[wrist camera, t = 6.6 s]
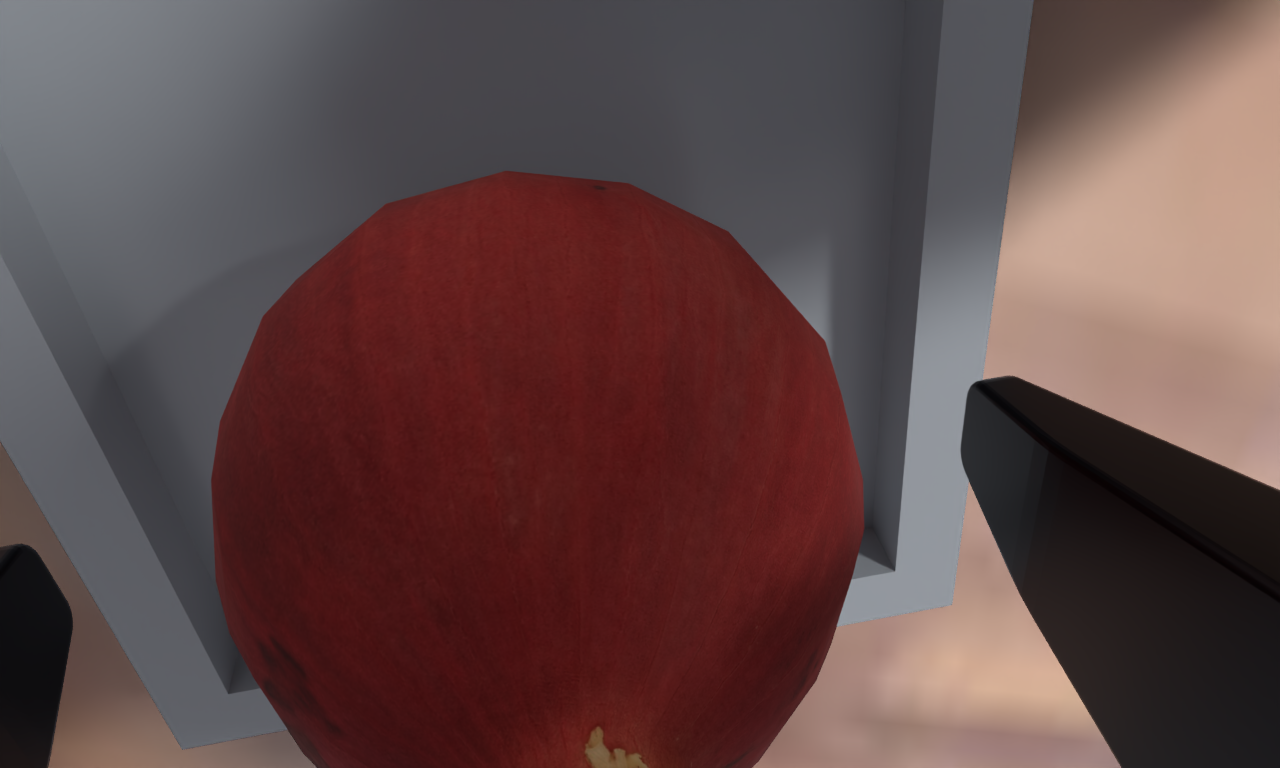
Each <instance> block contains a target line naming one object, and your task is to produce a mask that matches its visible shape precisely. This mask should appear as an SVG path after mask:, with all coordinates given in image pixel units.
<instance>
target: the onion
mask: <svg viewBox="0 0 1280 768" xmlns="http://www.w3.org/2000/svg"><path fill="white" fill-rule="evenodd" d="M211 491H212V512H213V533H214V554H215V576H216V584H217V587H218V591H219V595H220V599H221V603H222V607H223V610H224V614H225V618H226V622H227V626H228V630H229V634H230V635H231V637H232V639H233V641H234V643H235V645H236V646H237V648H238V650H239V652H240V654H241V656H242V657H243V659H244V661H245V663H246V665H247V667H248V669H249V670H250V672H251V674H252V676H253V678H254V679H255V681H256V682H257V684H258V685H259V687H260V689H261V690H262V692H263V693H264V695H265V696H266V698H267V699H268V701H269V702H270V704H271V705H272V707H273V708H274V710H275V711H276V713H277V714H278V716H279V717H280V719H281V720H282V722H283V723H284V725H285V726H286V728H287V729H288V731H289V732H290V734H291V735H292V737H293V738H294V740H295V741H296V743H297V744H298V746H299V747H300V749H301V751H302V752H303V754H304V755H305V756H306V757H307V758H308V759H309V760H310V761H311V762H312V763H313V764H314V765H315V766H316V767H317V768H752V767H753V766H754V765H755V764H756V763H757V762H758V761H759V760H760V758H761V757H762V756H763V754H764V753H765V751H766V750H767V749H768V747H769V746H770V744H771V743H772V742H773V740H774V739H775V737H776V736H777V735H778V733H779V732H780V730H781V729H782V728H783V726H784V725H785V723H786V722H787V721H788V719H789V718H790V716H791V715H792V714H793V712H794V711H795V709H796V708H797V707H798V705H799V704H800V702H801V701H802V700H803V698H804V697H805V695H806V694H807V693H808V691H809V690H810V688H811V687H812V686H813V684H814V683H815V681H816V680H817V677H818V675H819V672H820V670H821V667H822V665H823V663H824V660H825V658H826V655H827V653H828V650H829V648H830V646H831V643H832V639H833V636H834V633H835V630H836V627H837V624H838V621H839V617H840V614H841V611H842V608H843V605H844V602H845V598H846V595H847V592H848V589H849V586H850V583H851V580H852V576H853V573H854V569H855V565H856V561H857V557H858V553H859V549H860V545H861V541H862V537H863V533H864V499H863V478H862V474H861V470H860V466H859V462H858V458H857V454H856V450H855V446H854V442H853V438H852V434H851V430H850V426H849V422H848V418H847V414H846V410H845V406H844V402H843V398H842V394H841V391H840V388H839V384H838V381H837V378H836V374H835V371H834V368H833V365H832V361H831V358H830V355H829V352H828V348H827V345H826V342H825V340H824V339H823V338H822V337H821V336H820V335H819V334H818V332H817V331H816V330H815V329H814V328H813V327H812V326H811V324H810V323H809V322H808V321H807V320H806V319H805V318H804V316H803V315H802V314H801V313H800V312H799V311H798V310H797V308H796V307H795V306H794V305H793V304H792V303H791V302H790V300H789V299H788V298H787V297H786V296H785V295H784V294H783V292H782V291H781V290H780V289H779V288H778V287H777V286H776V284H775V283H774V282H773V281H772V280H771V279H770V278H769V277H768V275H767V274H766V273H765V272H764V271H763V270H762V269H761V267H760V266H759V265H758V264H757V263H756V262H755V261H754V259H753V258H752V257H751V256H750V255H749V254H748V253H747V252H746V250H745V249H744V248H743V247H742V246H741V245H740V244H739V243H738V242H737V240H736V239H735V238H734V237H733V236H732V235H731V234H730V233H729V231H727V230H725V229H722V228H720V227H718V226H716V225H714V224H712V223H710V222H708V221H706V220H704V219H702V218H700V217H698V216H696V215H693V214H691V213H689V212H687V211H685V210H683V209H681V208H679V207H677V206H675V205H673V204H671V203H669V202H667V201H665V200H662V199H660V198H658V197H656V196H654V195H652V194H650V193H648V192H646V191H644V190H642V189H640V188H638V187H636V186H634V185H631V184H629V183H623V182H613V181H603V180H593V179H583V178H573V177H563V176H554V175H544V174H534V173H524V172H514V171H503V172H500V173H496V174H492V175H489V176H485V177H481V178H478V179H474V180H470V181H467V182H463V183H459V184H456V185H452V186H448V187H445V188H441V189H438V190H434V191H430V192H427V193H423V194H419V195H416V196H412V197H408V198H405V199H401V200H397V201H394V202H390V203H386V204H385V205H384V206H383V207H381V208H380V209H379V210H378V211H377V212H375V213H374V214H373V215H372V216H371V217H370V218H368V219H367V220H366V221H365V222H364V223H362V224H361V225H360V226H359V227H358V228H357V229H355V230H354V231H353V232H352V233H351V234H349V235H348V236H347V237H346V238H345V239H344V240H342V241H341V242H340V243H339V244H338V245H336V246H335V247H334V248H333V249H332V250H331V251H329V252H328V253H327V254H326V255H325V256H323V257H322V258H321V259H320V260H319V261H318V262H316V263H315V264H314V265H313V266H312V267H310V268H309V269H308V270H307V271H306V272H305V273H303V274H302V275H301V276H300V277H299V278H297V279H296V280H295V282H294V283H293V284H292V285H291V286H290V287H289V288H288V289H287V290H286V291H285V293H284V294H283V295H282V296H281V297H280V298H279V299H278V300H277V301H276V302H275V303H274V305H273V306H272V307H271V308H270V309H269V310H268V311H267V312H266V313H265V314H264V316H263V317H262V319H261V322H260V324H259V327H258V329H257V332H256V334H255V337H254V339H253V342H252V344H251V346H250V349H249V351H248V354H247V356H246V359H245V361H244V364H243V366H242V368H241V371H240V373H239V376H238V378H237V381H236V383H235V386H234V388H233V391H232V393H231V395H230V398H229V400H228V403H227V405H226V408H225V410H224V413H223V415H222V417H221V420H220V424H219V431H218V437H217V444H216V450H215V457H214V464H213V470H212V477H211Z"/></svg>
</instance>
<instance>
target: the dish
mask: <svg viewBox="0 0 1280 768" xmlns="http://www.w3.org/2000/svg"><path fill="white" fill-rule="evenodd" d="M1033 3H1034V0H0V442H1V443H2V445H3V447H4V448H5V450H6V452H7V453H8V455H9V457H10V459H11V460H12V462H13V464H14V465H15V467H16V469H17V470H18V472H19V474H20V475H21V477H22V479H23V481H24V482H25V484H26V486H27V487H28V489H29V491H30V492H31V494H32V496H33V498H34V499H35V501H36V503H37V504H38V506H39V508H40V509H41V511H42V513H43V514H44V516H45V518H46V520H47V521H48V523H49V525H50V526H51V528H52V530H53V531H54V533H55V535H56V537H57V538H58V540H59V542H60V543H61V545H62V547H63V548H64V550H65V552H66V553H67V555H68V557H69V559H70V560H71V562H72V564H73V565H74V567H75V569H76V570H77V572H78V574H79V576H80V577H81V579H82V581H83V582H84V584H85V586H86V587H87V589H88V591H89V592H90V594H91V596H92V598H93V599H94V601H95V603H96V604H97V606H98V608H99V609H100V611H101V613H102V615H103V616H104V618H105V620H106V621H107V623H108V625H109V626H110V628H111V630H112V631H113V633H114V635H115V637H116V638H117V640H118V642H119V643H120V645H121V647H122V648H123V650H124V652H125V654H126V655H127V657H128V659H129V660H130V662H131V664H132V665H133V667H134V669H135V670H136V672H137V674H138V676H139V677H140V679H141V681H142V682H143V684H144V686H145V687H146V689H147V691H148V693H149V694H150V696H151V698H152V699H153V701H154V703H155V704H156V706H157V708H158V709H159V711H160V713H161V715H162V716H163V718H164V720H165V721H166V723H167V725H168V726H169V728H170V730H171V732H172V733H173V735H174V737H175V738H176V740H177V742H178V743H179V745H180V747H181V748H182V750H183V749H189V748H194V747H199V746H205V745H210V744H215V743H221V742H226V741H231V740H237V739H242V738H247V737H252V736H258V735H263V734H268V733H274V732H279V731H284V730H288V729H287V728H286V726H285V725H284V723H283V722H282V720H281V719H280V717H279V716H278V714H277V713H276V711H275V710H274V708H273V707H272V705H271V704H270V702H269V701H268V699H267V698H266V696H265V695H264V693H263V692H262V690H261V689H260V687H259V685H258V684H257V682H256V681H255V679H254V678H253V676H252V674H251V672H250V670H249V669H248V667H247V665H246V663H245V661H244V659H243V657H242V656H241V654H240V652H239V650H238V648H237V646H236V645H235V643H234V641H233V639H232V637H231V635H230V634H229V630H228V626H227V622H226V618H225V614H224V610H223V607H222V603H221V599H220V595H219V591H218V587H217V584H216V576H215V554H214V533H213V512H212V491H211V477H212V470H213V464H214V457H215V450H216V444H217V437H218V431H219V424H220V420H221V417H222V415H223V413H224V410H225V408H226V405H227V403H228V400H229V398H230V395H231V393H232V391H233V388H234V386H235V383H236V381H237V378H238V376H239V373H240V371H241V368H242V366H243V364H244V361H245V359H246V356H247V354H248V351H249V349H250V346H251V344H252V342H253V339H254V337H255V334H256V332H257V329H258V327H259V324H260V322H261V319H262V317H263V316H264V314H265V313H266V312H267V311H268V310H269V309H270V308H271V307H272V306H273V305H274V303H275V302H276V301H277V300H278V299H279V298H280V297H281V296H282V295H283V294H284V293H285V291H286V290H287V289H288V288H289V287H290V286H291V285H292V284H293V283H294V282H295V280H296V279H297V278H299V277H300V276H301V275H302V274H303V273H305V272H306V271H307V270H308V269H309V268H310V267H312V266H313V265H314V264H315V263H316V262H318V261H319V260H320V259H321V258H322V257H323V256H325V255H326V254H327V253H328V252H329V251H331V250H332V249H333V248H334V247H335V246H336V245H338V244H339V243H340V242H341V241H342V240H344V239H345V238H346V237H347V236H348V235H349V234H351V233H352V232H353V231H354V230H355V229H357V228H358V227H359V226H360V225H361V224H362V223H364V222H365V221H366V220H367V219H368V218H370V217H371V216H372V215H373V214H374V213H375V212H377V211H378V210H379V209H380V208H381V207H383V206H384V205H385V204H386V203H390V202H394V201H397V200H401V199H405V198H408V197H412V196H416V195H419V194H423V193H427V192H430V191H434V190H438V189H441V188H445V187H448V186H452V185H456V184H459V183H463V182H467V181H470V180H474V179H478V178H481V177H485V176H489V175H492V174H496V173H500V172H503V171H514V172H524V173H534V174H544V175H554V176H563V177H573V178H583V179H593V180H603V181H613V182H623V183H629V184H631V185H634V186H636V187H638V188H640V189H642V190H644V191H646V192H648V193H650V194H652V195H654V196H656V197H658V198H660V199H662V200H665V201H667V202H669V203H671V204H673V205H675V206H677V207H679V208H681V209H683V210H685V211H687V212H689V213H691V214H693V215H696V216H698V217H700V218H702V219H704V220H706V221H708V222H710V223H712V224H714V225H716V226H718V227H720V228H722V229H725V230H727V231H729V233H730V234H731V235H732V236H733V237H734V238H735V239H736V240H737V242H738V243H739V244H740V245H741V246H742V247H743V248H744V249H745V250H746V252H747V253H748V254H749V255H750V256H751V257H752V258H753V259H754V261H755V262H756V263H757V264H758V265H759V266H760V267H761V269H762V270H763V271H764V272H765V273H766V274H767V275H768V277H769V278H770V279H771V280H772V281H773V282H774V283H775V284H776V286H777V287H778V288H779V289H780V290H781V291H782V292H783V294H784V295H785V296H786V297H787V298H788V299H789V300H790V302H791V303H792V304H793V305H794V306H795V307H796V308H797V310H798V311H799V312H800V313H801V314H802V315H803V316H804V318H805V319H806V320H807V321H808V322H809V323H810V324H811V326H812V327H813V328H814V329H815V330H816V331H817V332H818V334H819V335H820V336H821V337H822V338H823V339H824V340H825V342H826V345H827V348H828V352H829V355H830V358H831V361H832V365H833V368H834V371H835V374H836V378H837V381H838V384H839V388H840V391H841V394H842V398H843V402H844V406H845V410H846V414H847V418H848V422H849V426H850V430H851V434H852V438H853V442H854V446H855V450H856V454H857V458H858V462H859V466H860V470H861V474H862V478H863V499H864V533H863V537H862V541H861V545H860V549H859V553H858V557H857V561H856V565H855V569H854V573H853V576H852V580H851V583H850V586H849V589H848V592H847V595H846V598H845V602H844V605H843V608H842V611H841V614H840V617H839V621H838V624H837V627H838V626H843V625H848V624H853V623H859V622H864V621H869V620H875V619H880V618H885V617H891V616H896V615H901V614H907V613H912V612H917V611H923V610H928V609H933V608H939V607H944V606H949V605H952V601H953V594H954V587H955V579H956V572H957V564H958V557H959V550H960V542H961V535H962V527H963V520H964V513H965V505H966V498H967V491H968V483H969V480H968V478H967V475H966V473H965V471H964V468H963V464H962V460H961V451H960V448H961V438H962V430H963V422H964V414H965V406H966V397H967V393H968V390H969V388H970V386H971V385H972V384H973V383H975V382H976V381H979V380H983V372H984V365H985V358H986V350H987V343H988V335H989V328H990V321H991V313H992V306H993V298H994V291H995V284H996V276H997V269H998V262H999V254H1000V247H1001V239H1002V232H1003V225H1004V217H1005V210H1006V202H1007V195H1008V188H1009V180H1010V173H1011V166H1012V158H1013V151H1014V143H1015V136H1016V129H1017V121H1018V114H1019V106H1020V99H1021V92H1022V84H1023V77H1024V69H1025V62H1026V55H1027V47H1028V40H1029V33H1030V25H1031V18H1032V10H1033Z"/></svg>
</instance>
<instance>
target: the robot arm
mask: <svg viewBox="0 0 1280 768" xmlns="http://www.w3.org/2000/svg"><path fill="white" fill-rule="evenodd" d="M960 451H961V460H962V464H963V468H964V471H965V473H966V475H967V478H968V480H969V482H970V484H971V487H972V489H973V491H974V493H975V496H976V498H977V500H978V502H979V505H980V507H981V509H982V511H983V514H984V516H985V518H986V520H987V523H988V525H989V527H990V529H991V532H992V534H993V536H994V538H995V541H996V543H997V545H998V548H999V550H1000V552H1001V554H1002V557H1003V559H1004V561H1005V563H1006V566H1007V568H1008V570H1009V572H1010V575H1011V577H1012V579H1013V581H1014V583H1015V585H1016V587H1017V589H1018V591H1019V593H1020V595H1021V597H1022V599H1023V601H1024V603H1025V605H1026V606H1027V608H1028V610H1029V612H1030V614H1031V615H1032V617H1033V619H1034V620H1035V622H1036V624H1037V626H1038V627H1039V629H1040V631H1041V632H1042V634H1043V636H1044V637H1045V639H1046V641H1047V642H1048V644H1049V646H1050V648H1051V649H1052V651H1053V653H1054V654H1055V656H1056V658H1057V659H1058V661H1059V663H1060V664H1061V666H1062V668H1063V670H1064V671H1065V673H1066V675H1067V676H1068V678H1069V680H1070V681H1071V683H1072V685H1073V686H1074V688H1075V690H1076V692H1077V693H1078V695H1079V697H1080V698H1081V700H1082V702H1083V703H1084V705H1085V707H1086V708H1087V710H1088V712H1089V714H1090V715H1091V717H1092V719H1093V720H1094V722H1095V724H1096V725H1097V727H1098V729H1099V730H1100V732H1101V734H1102V736H1103V737H1104V739H1105V741H1106V742H1107V744H1108V746H1109V747H1110V749H1111V751H1112V752H1113V754H1114V756H1115V758H1116V759H1117V761H1118V763H1119V764H1120V766H1121V768H1280V490H1278V489H1276V488H1274V487H1271V486H1269V485H1267V484H1264V483H1262V482H1260V481H1257V480H1255V479H1253V478H1250V477H1248V476H1246V475H1243V474H1241V473H1239V472H1236V471H1234V470H1232V469H1229V468H1227V467H1225V466H1222V465H1220V464H1218V463H1215V462H1213V461H1211V460H1209V459H1206V458H1204V457H1202V456H1199V455H1197V454H1195V453H1192V452H1190V451H1188V450H1185V449H1183V448H1181V447H1178V446H1176V445H1174V444H1171V443H1169V442H1167V441H1164V440H1162V439H1160V438H1157V437H1155V436H1153V435H1150V434H1148V433H1146V432H1143V431H1141V430H1139V429H1137V428H1134V427H1132V426H1130V425H1127V424H1125V423H1123V422H1120V421H1118V420H1116V419H1113V418H1111V417H1109V416H1106V415H1104V414H1102V413H1099V412H1097V411H1095V410H1092V409H1090V408H1088V407H1085V406H1083V405H1081V404H1078V403H1076V402H1074V401H1071V400H1069V399H1067V398H1065V397H1062V396H1060V395H1058V394H1055V393H1053V392H1051V391H1048V390H1046V389H1044V388H1041V387H1039V386H1037V385H1034V384H1032V383H1030V382H1027V381H1025V380H1023V379H1020V378H1018V377H1015V376H1003V377H997V378H991V379H985V380H979V381H976V382H975V383H973V384H972V385H971V386H970V388H969V390H968V393H967V397H966V406H965V414H964V422H963V430H962V438H961V448H960ZM72 629H73V619H72V612H71V609H70V606H69V604H68V602H67V600H66V598H65V597H64V595H63V593H62V592H61V590H60V588H59V587H58V585H57V584H56V582H55V580H54V579H53V577H52V575H51V574H50V572H49V571H48V569H47V567H46V566H45V564H44V562H43V561H42V559H41V557H40V556H39V555H38V553H37V552H36V551H35V550H34V549H33V548H32V547H30V546H28V545H24V544H15V545H9V546H3V547H0V768H48V765H49V760H50V756H51V750H52V744H53V739H54V733H55V727H56V722H57V716H58V710H59V704H60V699H61V693H62V687H63V682H64V676H65V670H66V665H67V659H68V653H69V647H70V642H71V636H72Z"/></svg>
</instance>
